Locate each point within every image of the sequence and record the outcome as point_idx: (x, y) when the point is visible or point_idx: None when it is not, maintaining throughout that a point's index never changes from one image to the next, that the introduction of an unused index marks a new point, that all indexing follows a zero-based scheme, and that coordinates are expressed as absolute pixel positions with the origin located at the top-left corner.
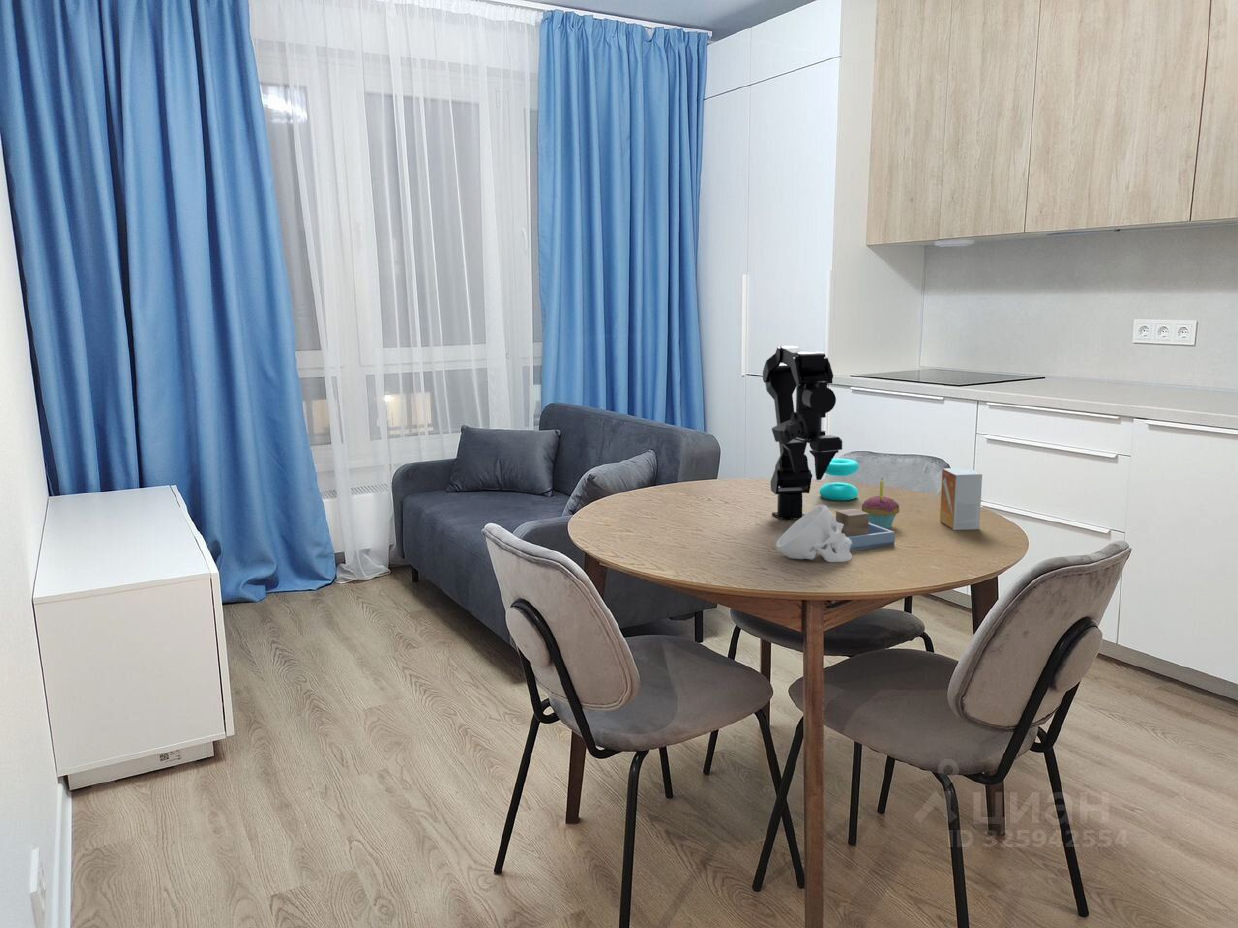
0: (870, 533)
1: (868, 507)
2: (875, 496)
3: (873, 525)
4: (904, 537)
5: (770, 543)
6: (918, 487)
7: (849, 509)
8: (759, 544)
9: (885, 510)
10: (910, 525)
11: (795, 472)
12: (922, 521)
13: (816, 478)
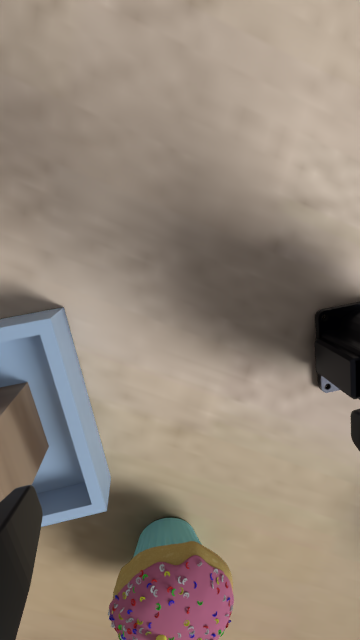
0: (48, 492)
1: (151, 570)
2: (209, 631)
3: None
4: (40, 560)
5: (33, 139)
6: None
7: (2, 498)
8: (25, 86)
9: (111, 604)
10: None
11: (352, 412)
12: None
13: (21, 491)
